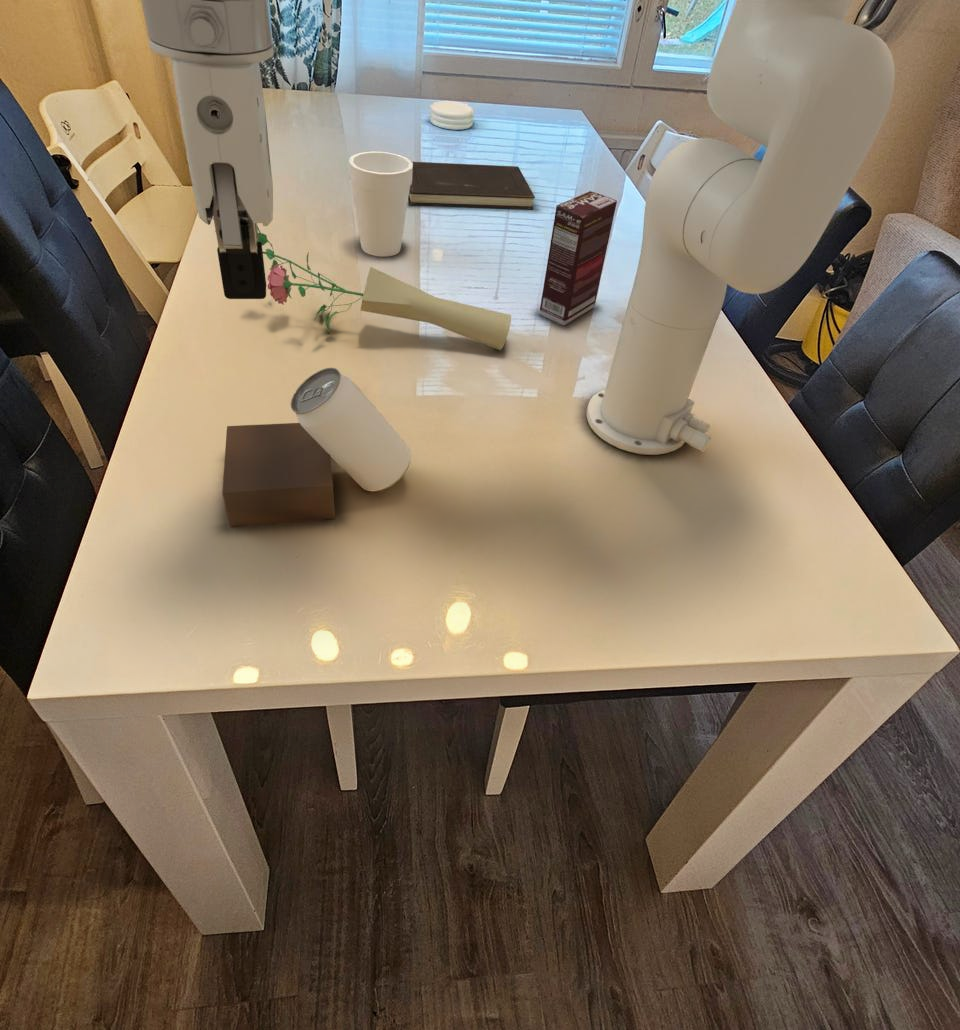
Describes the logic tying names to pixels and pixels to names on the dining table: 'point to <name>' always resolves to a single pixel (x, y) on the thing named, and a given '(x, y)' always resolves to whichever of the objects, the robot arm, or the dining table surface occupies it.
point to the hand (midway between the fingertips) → (246, 293)
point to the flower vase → (400, 303)
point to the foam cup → (380, 199)
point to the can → (351, 429)
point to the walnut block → (275, 475)
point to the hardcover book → (469, 186)
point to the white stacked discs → (451, 115)
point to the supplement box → (576, 256)
